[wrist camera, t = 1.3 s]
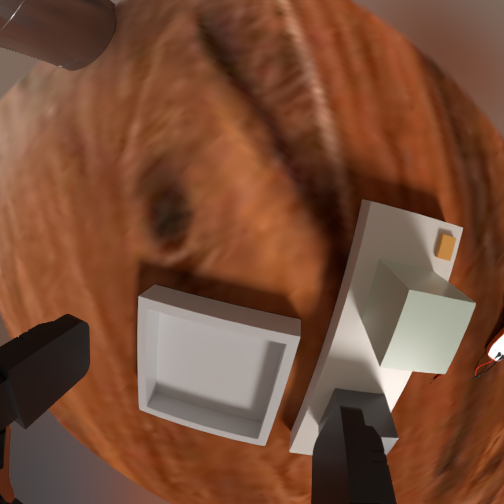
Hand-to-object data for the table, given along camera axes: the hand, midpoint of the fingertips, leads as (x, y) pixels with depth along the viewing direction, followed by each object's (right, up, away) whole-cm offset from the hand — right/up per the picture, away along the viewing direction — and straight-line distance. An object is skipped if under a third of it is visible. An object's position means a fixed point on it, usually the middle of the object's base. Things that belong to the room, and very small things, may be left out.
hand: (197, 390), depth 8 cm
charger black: (+12, -11, +21) cm, 27 cm away
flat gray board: (+13, -5, +20) cm, 25 cm away
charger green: (+14, +1, +18) cm, 23 cm away
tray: (-2, -8, +23) cm, 25 cm away
